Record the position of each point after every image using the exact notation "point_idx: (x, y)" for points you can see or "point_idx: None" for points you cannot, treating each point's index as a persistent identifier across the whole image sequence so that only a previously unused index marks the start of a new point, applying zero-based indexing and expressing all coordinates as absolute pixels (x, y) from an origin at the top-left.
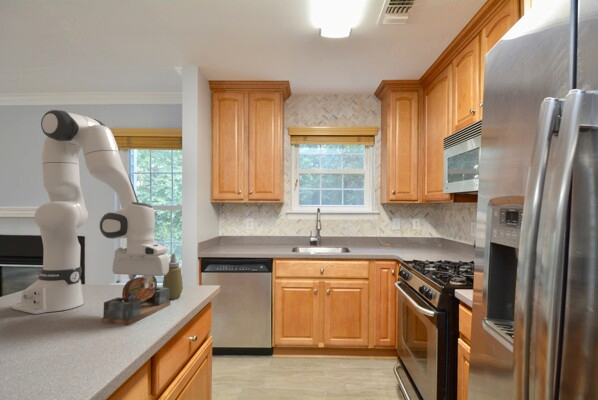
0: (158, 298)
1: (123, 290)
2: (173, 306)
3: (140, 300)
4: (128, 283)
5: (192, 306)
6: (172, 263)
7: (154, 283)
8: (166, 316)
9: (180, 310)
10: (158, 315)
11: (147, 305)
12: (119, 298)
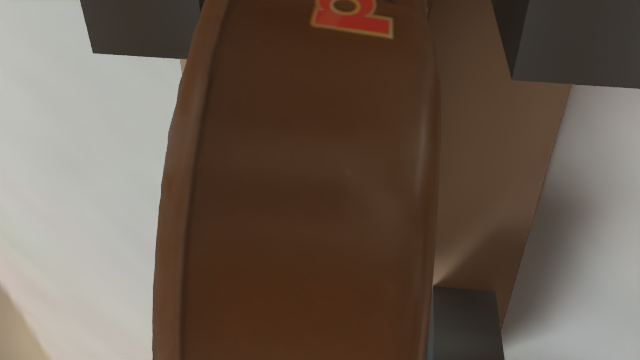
0: None
1: (390, 21)
2: None
3: (97, 31)
4: (309, 269)
5: (39, 322)
6: None
7: None
8: (12, 79)
9: (42, 237)
10: (112, 93)
11: None
12: (555, 26)
